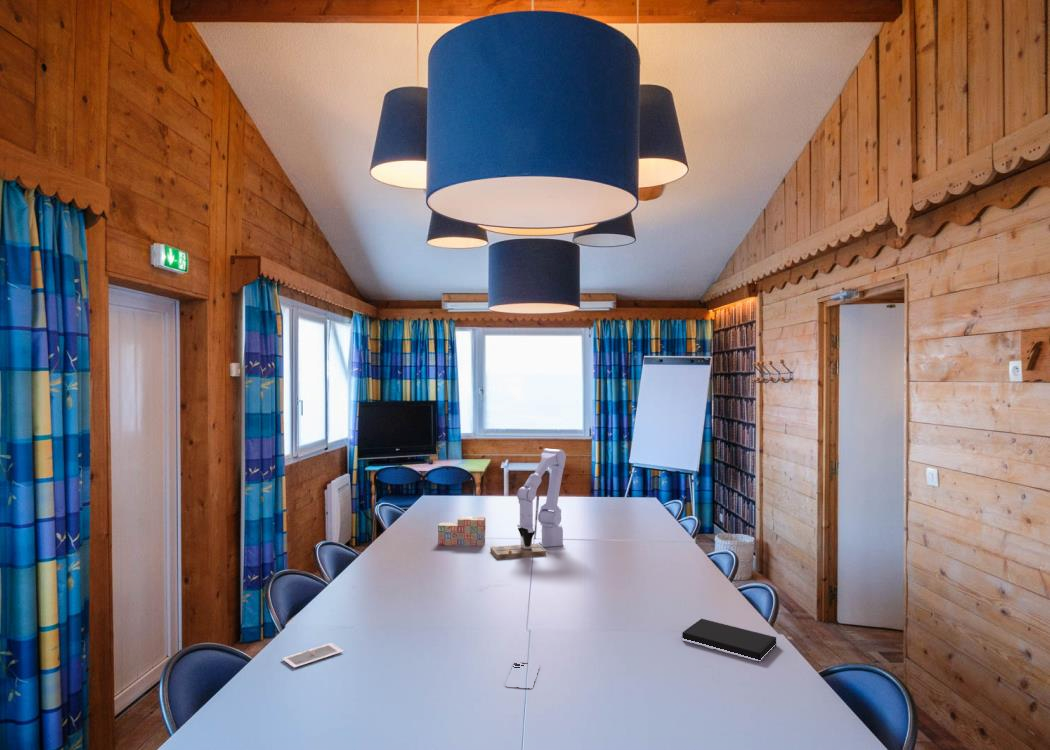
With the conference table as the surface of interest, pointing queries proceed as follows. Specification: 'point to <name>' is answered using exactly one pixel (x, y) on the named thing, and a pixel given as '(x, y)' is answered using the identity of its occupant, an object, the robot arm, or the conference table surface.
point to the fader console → (517, 551)
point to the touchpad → (312, 655)
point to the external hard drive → (730, 638)
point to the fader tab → (524, 544)
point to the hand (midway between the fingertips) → (526, 545)
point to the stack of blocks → (463, 532)
